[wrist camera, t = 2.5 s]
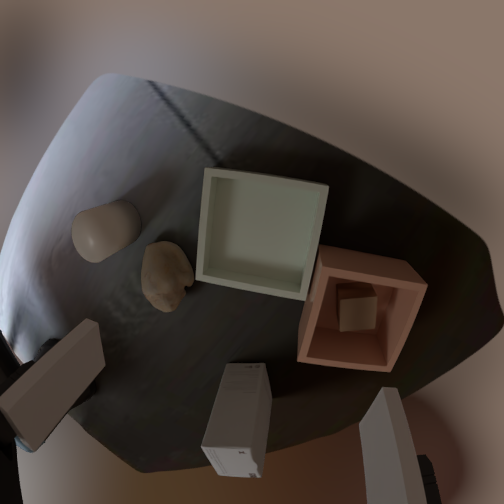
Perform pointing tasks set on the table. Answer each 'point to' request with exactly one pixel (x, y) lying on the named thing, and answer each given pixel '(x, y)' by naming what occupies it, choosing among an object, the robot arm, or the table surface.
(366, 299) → the walnut block
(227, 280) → the green dish
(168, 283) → the stone
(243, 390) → the skincare box
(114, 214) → the beige rounded capsule
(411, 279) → the pink open box
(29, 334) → the table surface
